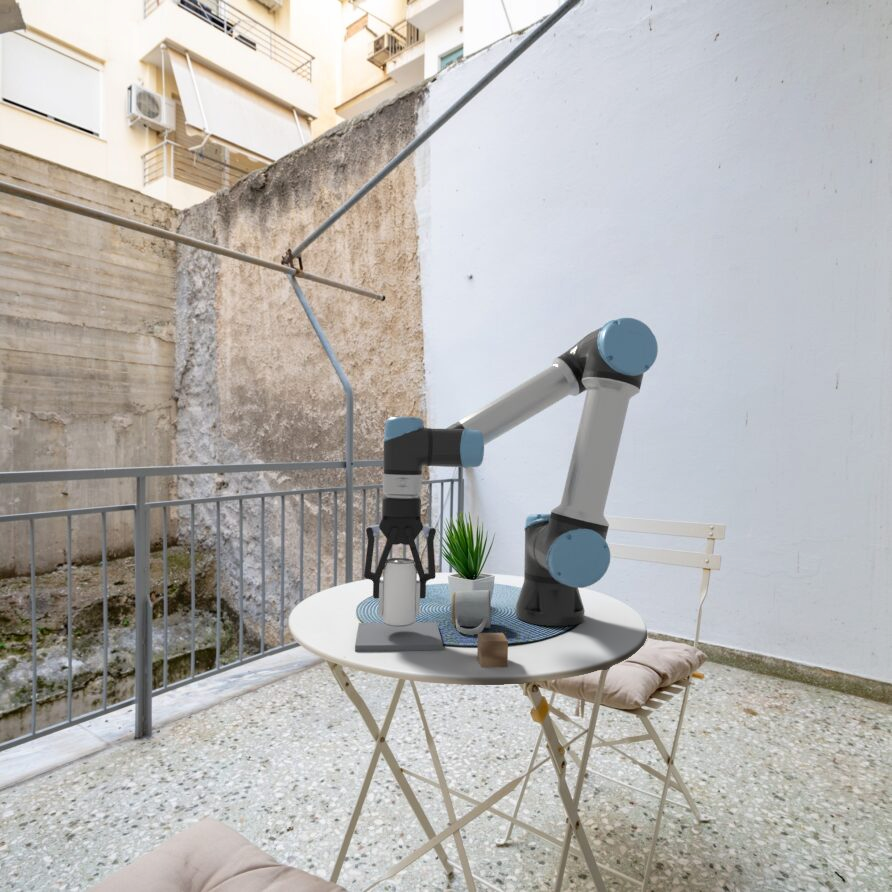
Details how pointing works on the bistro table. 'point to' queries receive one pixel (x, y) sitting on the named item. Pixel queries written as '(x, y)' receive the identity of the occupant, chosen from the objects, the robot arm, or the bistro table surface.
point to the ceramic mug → (471, 610)
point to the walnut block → (492, 650)
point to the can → (399, 592)
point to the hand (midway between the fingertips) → (398, 614)
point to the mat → (398, 637)
